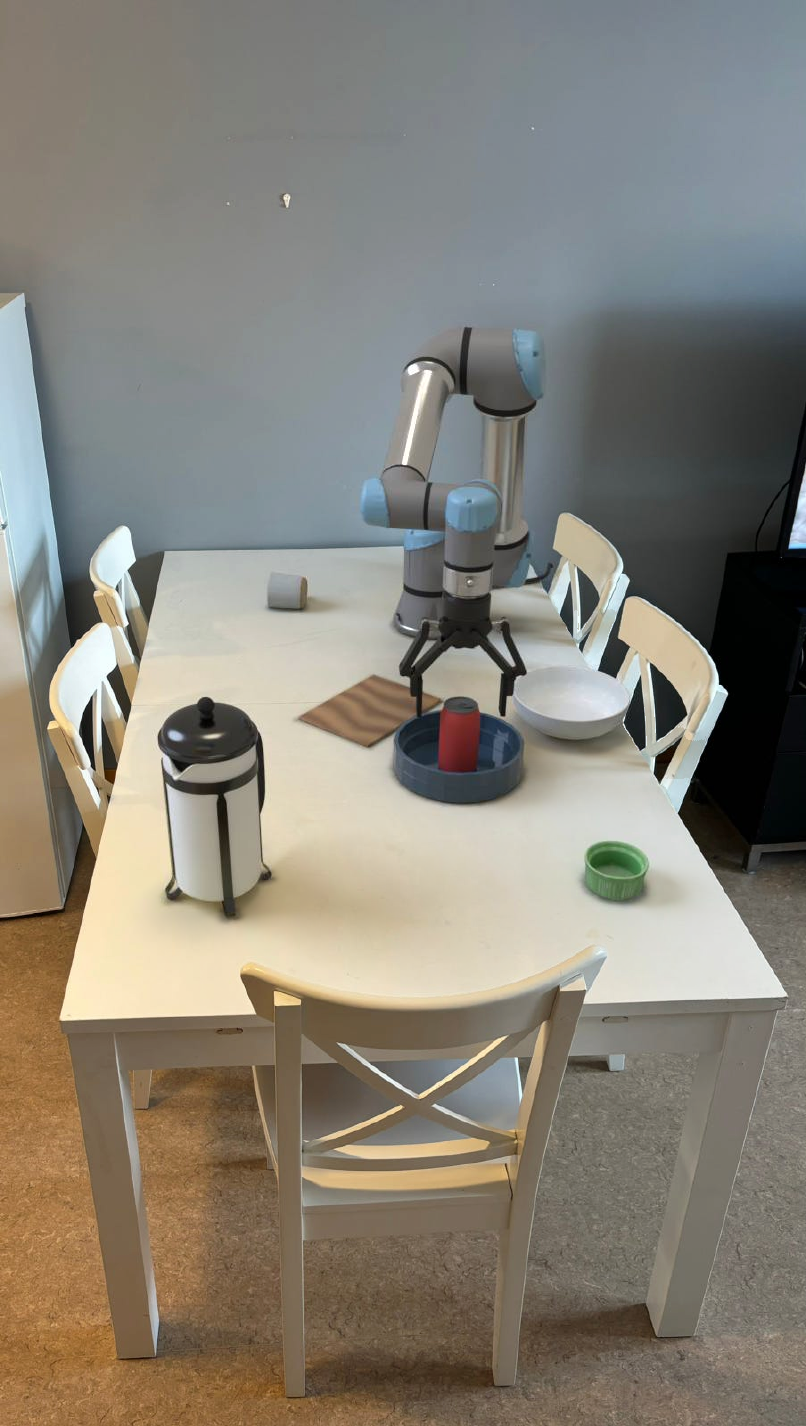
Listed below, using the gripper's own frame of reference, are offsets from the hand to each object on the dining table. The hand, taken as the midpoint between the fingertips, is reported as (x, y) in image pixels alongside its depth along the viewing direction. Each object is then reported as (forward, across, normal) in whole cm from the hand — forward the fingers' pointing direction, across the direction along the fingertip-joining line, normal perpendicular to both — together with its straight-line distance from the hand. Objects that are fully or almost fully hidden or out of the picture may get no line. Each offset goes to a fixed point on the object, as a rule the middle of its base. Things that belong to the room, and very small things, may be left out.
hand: (460, 713), depth 175 cm
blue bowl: (+11, 0, 0) cm, 11 cm away
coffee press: (+11, -36, -29) cm, 48 cm away
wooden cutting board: (+10, -14, +21) cm, 27 cm away
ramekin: (+11, +19, -31) cm, 38 cm away
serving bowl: (+11, +22, +15) cm, 28 cm away
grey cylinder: (+10, -31, +71) cm, 78 cm away
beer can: (+11, 0, 0) cm, 11 cm away
